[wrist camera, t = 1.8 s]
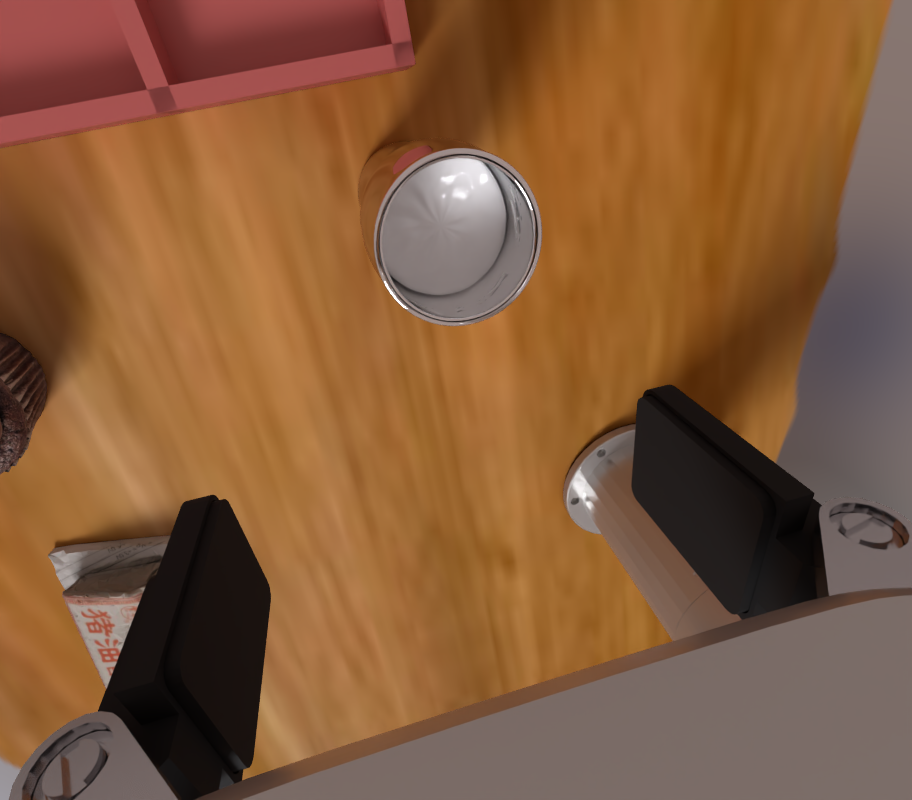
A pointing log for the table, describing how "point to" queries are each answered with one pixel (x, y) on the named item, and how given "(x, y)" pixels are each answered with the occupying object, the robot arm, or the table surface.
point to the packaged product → (106, 590)
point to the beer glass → (448, 229)
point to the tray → (180, 56)
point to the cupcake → (18, 399)
